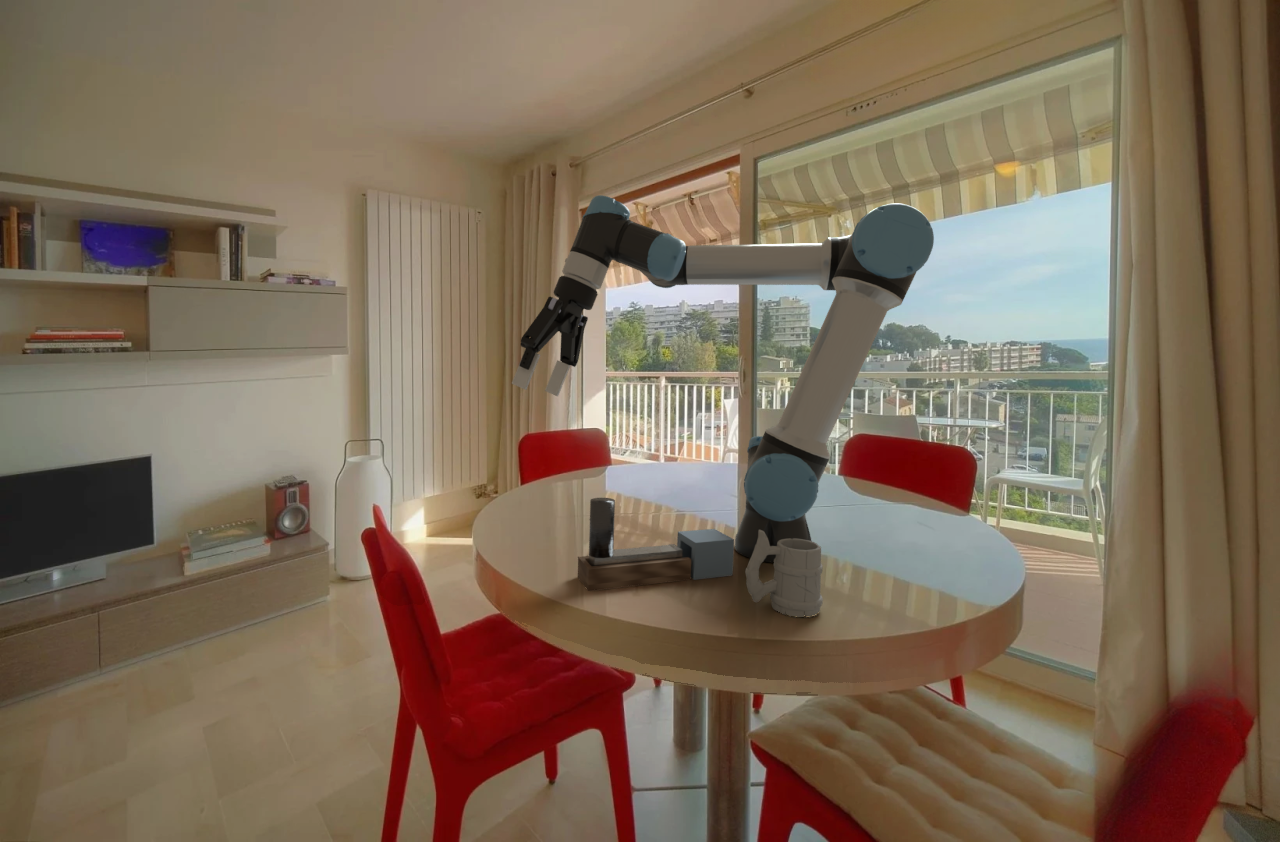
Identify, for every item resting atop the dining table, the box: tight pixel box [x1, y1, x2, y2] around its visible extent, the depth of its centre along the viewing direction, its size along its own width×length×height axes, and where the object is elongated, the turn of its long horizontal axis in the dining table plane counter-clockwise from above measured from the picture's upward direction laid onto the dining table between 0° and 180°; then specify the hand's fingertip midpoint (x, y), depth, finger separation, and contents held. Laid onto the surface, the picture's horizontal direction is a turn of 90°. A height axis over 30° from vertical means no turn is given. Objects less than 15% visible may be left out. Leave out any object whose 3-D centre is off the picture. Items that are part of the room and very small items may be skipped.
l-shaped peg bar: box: [588, 497, 683, 566], centre depth 94 cm, size 16×4×12 cm, turn 112°
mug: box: [745, 530, 824, 618], centre depth 83 cm, size 8×12×12 cm, turn 98°
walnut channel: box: [577, 555, 692, 592], centre depth 94 cm, size 18×6×4 cm, turn 112°
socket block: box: [676, 528, 735, 581], centre depth 99 cm, size 8×7×6 cm
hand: (536, 390), depth 103 cm, fingers open, 13 cm apart
